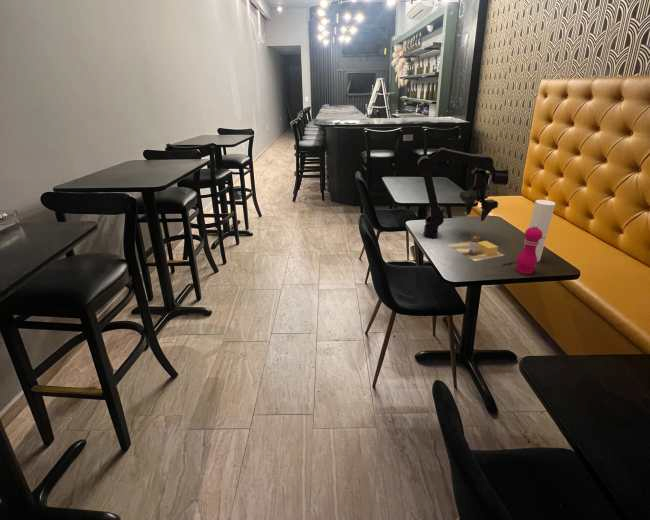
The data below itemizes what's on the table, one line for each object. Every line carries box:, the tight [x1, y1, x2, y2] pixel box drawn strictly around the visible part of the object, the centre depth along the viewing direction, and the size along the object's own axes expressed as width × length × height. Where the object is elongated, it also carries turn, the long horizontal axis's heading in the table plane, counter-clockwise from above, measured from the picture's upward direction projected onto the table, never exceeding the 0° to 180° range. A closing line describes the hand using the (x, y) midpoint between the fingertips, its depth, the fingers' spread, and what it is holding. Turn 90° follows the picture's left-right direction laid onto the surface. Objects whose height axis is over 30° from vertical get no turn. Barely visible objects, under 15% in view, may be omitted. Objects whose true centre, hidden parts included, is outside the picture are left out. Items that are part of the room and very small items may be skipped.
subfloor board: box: [447, 240, 505, 262], centre depth 171 cm, size 18×16×2 cm
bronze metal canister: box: [469, 234, 481, 255], centre depth 165 cm, size 3×3×8 cm
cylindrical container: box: [523, 199, 556, 263], centre depth 162 cm, size 7×7×25 cm
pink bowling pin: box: [515, 224, 542, 275], centre depth 152 cm, size 7×7×20 cm
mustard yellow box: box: [477, 240, 499, 256], centre depth 168 cm, size 7×5×4 cm
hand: (475, 217), depth 178 cm, fingers open, 9 cm apart
